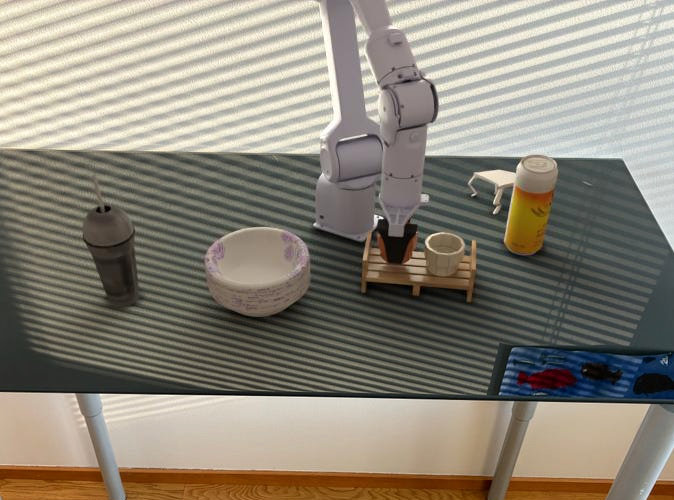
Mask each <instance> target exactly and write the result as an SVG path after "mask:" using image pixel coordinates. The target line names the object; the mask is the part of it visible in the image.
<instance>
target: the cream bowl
mask: <svg viewBox="0 0 674 500" xmlns="http://www.w3.org/2000/svg"><path fill="white" fill-rule="evenodd" d="M423 252H424V256H425V259H426V266H427V269H428V270H429V271H430V272H431V273H432V274H434V275H436V276H441V277H446V276H450V275H452V274H454V273H456V271H457V270H458V268H459V264H460V262H461V261H462V260H463V258H464V256H465V252H466V243H465V241H464V239H463V237H461V236H459V235H457V234H455V233H451V232H443V231H441V232H436V233H432V234H430V235H428V236H427V238H426V239H425V241H424V246H423Z"/></svg>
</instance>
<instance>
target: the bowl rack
mask: <svg viewBox="0 0 674 500" xmlns="http://www.w3.org/2000/svg"><path fill="white" fill-rule="evenodd" d="M372 236H373V232H368V234H367V239H366V240H365V246H364V251H363V256H362V263H361V264H362V266H361V269H362V270H361V271H362V272H361V288H360V289H361V291H360V292H361V293H362V294H363V293H364V294H365V293H366V290H367V286H368V285H367V284H368V282H371V283H381V284H382V283H383V284H393V285H394V284H395V285H396V284H397V285H406V286H412V296H417V297H418V296H420V293H421V292H420V290H421V287H427V288H428V287H429V288H441V289H451V290H452V289H453V290H461V291H462V290H464V291H466V303H472V298H473V291H474V286H475V285H474V284H475V280H476V279H475V278H476V273H477V240H476V239H472V240H471V245H470V252H469V255H464V258H463V260H462V261H461V262H460V264H459V268H458V270H457V271H456V273H454V274H452V275H450V276H446V277H441V276H436V275H434V274H432V273H431V272H430V271H429V270H428V269H427V266H426V259H425V256H424V251H414V250H413V255H412V257H411V259H410V260H409V261H408V262H406V263H404V264H399V265H395V264H390V263H387V262H386V261H384V260H383V259H382V258H381V255H380V248H378V247H377V248H375V247H372V240H373V239H372V238H373V237H372Z"/></svg>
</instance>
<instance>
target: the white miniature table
mask: <svg viewBox="0 0 674 500" xmlns="http://www.w3.org/2000/svg"><path fill="white" fill-rule="evenodd" d="M515 175H516V172H513V171H507V170H502V169H495V170H485V171H478V172H477V171H476V172H473V175H472V177H471V178H470V179H469V181H468V183H467V186H468V187H469V188H470V189H471V191H472V192H473V194H471V197H475V196H476V195H478V192H477V191H476V189H475V187H473V185H472V184H473V183H474V182H475V181H476V180H478V179H480V180H482V181H484V182H487V183H490V184H492V185H494V192H493V195H495V197H494V200H493V205H494V206H496V208H495V209H494V210H493V212H492V214H493V215H496V214H498V213H499V211H500V210H501V208H502V204H501V203H500V201H501V199H502V196H503V192H504V189H506V188H512V187H514V181H515Z"/></svg>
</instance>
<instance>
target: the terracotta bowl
mask: <svg viewBox="0 0 674 500" xmlns="http://www.w3.org/2000/svg"><path fill="white" fill-rule="evenodd" d="M406 224H411V222H410V223H408V222H406ZM418 237H419V233H418V231H417V232H416V234H415V236H414V237H413V238H412V239H411V241H410V242H409V244H408V247H407V250H406V253H405V256H404V259H403V262H402V264H404V263H406V262H408V261H409V260H410V259H411V257H412V255H413V251H414V250H415V249H416V248H417V245H418ZM376 243H377V246H378V247H377V248H378V249H380V255H381V258H382V259H383V260H384V261H386V262H387V258H386V252H385V246H384V243H383V240H382V238H381V236H380V234H379V233H378V232H377V236H376ZM387 263H388V262H387ZM390 264H394V263H390ZM395 265H399V264H395Z"/></svg>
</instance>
